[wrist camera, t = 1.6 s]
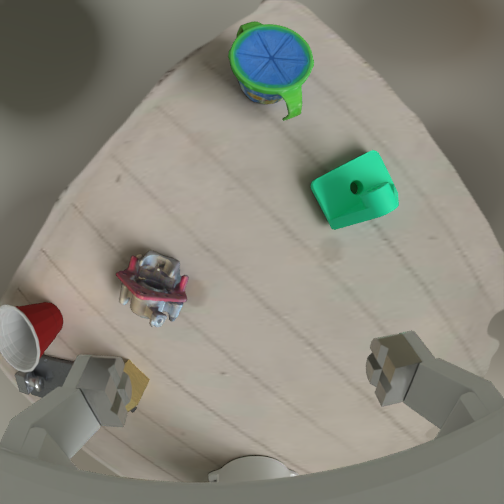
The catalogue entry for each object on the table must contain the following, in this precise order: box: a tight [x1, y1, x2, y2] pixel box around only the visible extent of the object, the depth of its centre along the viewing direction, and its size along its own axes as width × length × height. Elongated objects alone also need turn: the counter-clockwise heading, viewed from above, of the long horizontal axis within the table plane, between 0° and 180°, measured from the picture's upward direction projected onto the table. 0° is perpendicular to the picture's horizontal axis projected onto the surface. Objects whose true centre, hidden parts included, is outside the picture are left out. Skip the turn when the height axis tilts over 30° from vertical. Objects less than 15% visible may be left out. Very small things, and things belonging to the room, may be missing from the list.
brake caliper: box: [116, 250, 189, 327], centre depth 43 cm, size 11×10×11 cm
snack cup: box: [228, 22, 314, 121], centre depth 38 cm, size 16×10×10 cm
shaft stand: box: [15, 355, 74, 398], centre depth 45 cm, size 10×17×5 cm, turn 86°
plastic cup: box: [0, 302, 63, 373], centre depth 40 cm, size 11×11×12 cm
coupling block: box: [123, 360, 150, 413], centre depth 44 cm, size 7×5×8 cm
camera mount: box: [311, 150, 399, 230], centre depth 41 cm, size 12×8×10 cm, turn 119°
